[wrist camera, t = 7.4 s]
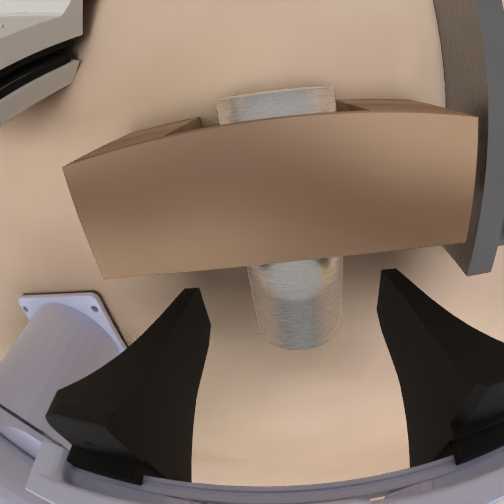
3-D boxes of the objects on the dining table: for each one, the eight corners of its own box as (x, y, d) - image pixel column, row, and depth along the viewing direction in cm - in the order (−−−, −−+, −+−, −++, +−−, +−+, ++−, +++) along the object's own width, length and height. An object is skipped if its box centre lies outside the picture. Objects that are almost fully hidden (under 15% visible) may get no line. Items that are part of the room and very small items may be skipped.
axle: (326, 284, 16) (354, 336, 13) (252, 301, 16) (265, 358, 13) (311, 86, 11) (354, 86, 8) (214, 99, 11) (216, 101, 8)
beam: (409, 187, 12) (465, 242, 8) (151, 215, 14) (104, 278, 10) (408, 99, 10) (478, 117, 6) (129, 133, 12) (62, 167, 8)
